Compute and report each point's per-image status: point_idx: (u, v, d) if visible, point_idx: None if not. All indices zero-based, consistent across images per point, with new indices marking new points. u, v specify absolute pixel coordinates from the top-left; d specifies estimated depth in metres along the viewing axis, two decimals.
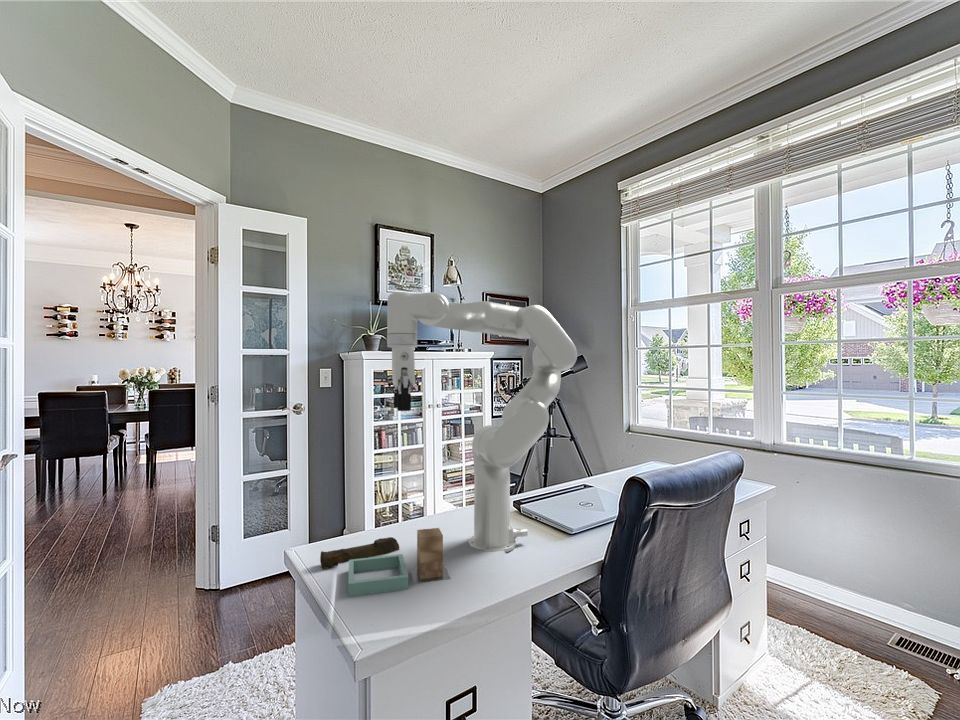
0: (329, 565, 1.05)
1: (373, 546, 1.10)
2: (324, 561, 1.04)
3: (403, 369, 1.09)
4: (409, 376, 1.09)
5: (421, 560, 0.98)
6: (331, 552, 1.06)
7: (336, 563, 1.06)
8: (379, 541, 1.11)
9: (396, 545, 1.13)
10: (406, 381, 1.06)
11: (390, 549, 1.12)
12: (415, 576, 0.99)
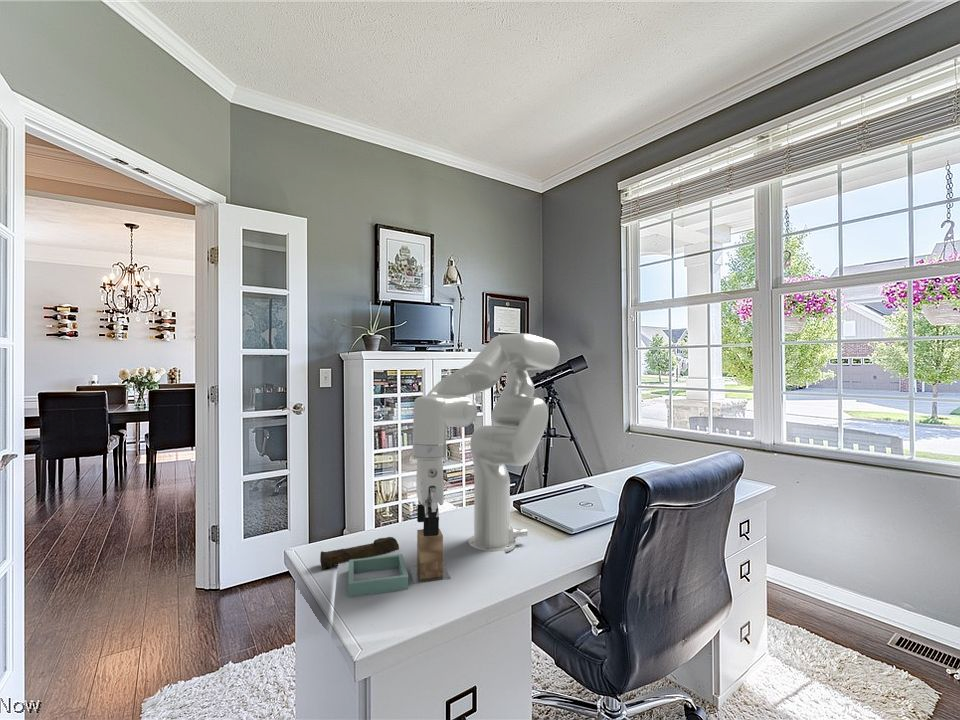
0: (329, 565, 1.05)
1: (373, 546, 1.10)
2: (324, 561, 1.04)
3: (431, 488, 0.96)
4: (437, 496, 0.96)
5: (421, 560, 0.98)
6: (331, 552, 1.06)
7: (336, 563, 1.06)
8: (379, 541, 1.11)
9: (396, 545, 1.14)
10: (435, 505, 0.93)
11: (390, 549, 1.12)
12: (415, 576, 0.99)
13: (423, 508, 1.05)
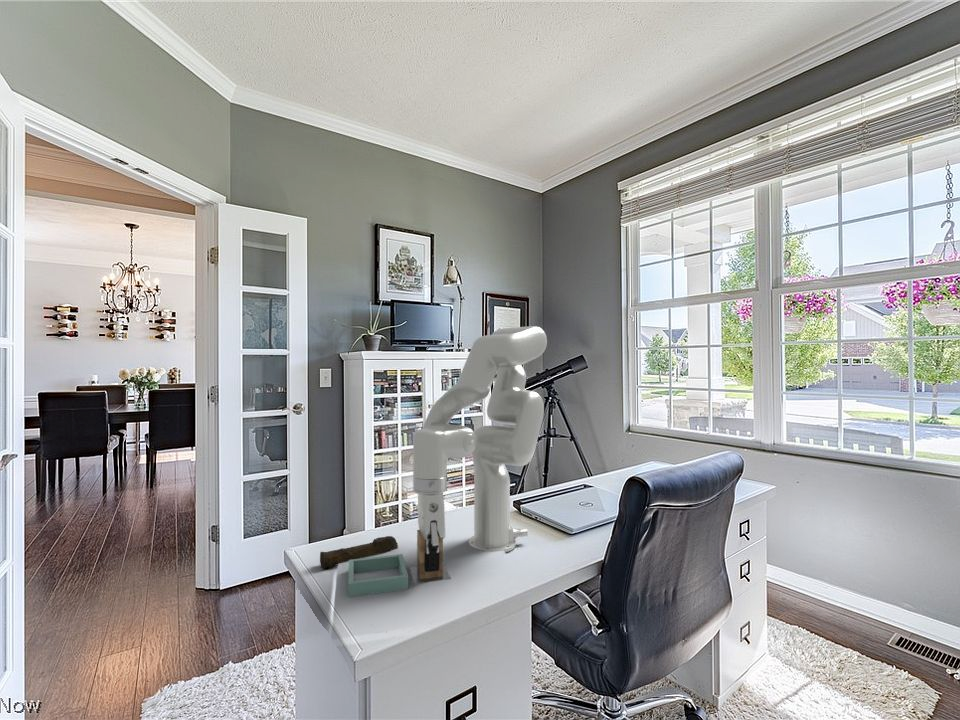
0: (329, 565, 1.05)
1: (372, 545, 1.11)
2: (325, 561, 1.04)
3: (432, 526, 0.96)
4: (439, 530, 0.96)
5: (421, 560, 0.98)
6: (331, 552, 1.06)
7: (336, 563, 1.06)
8: (378, 540, 1.12)
9: (395, 544, 1.14)
10: (435, 546, 0.95)
11: (389, 548, 1.13)
12: (415, 576, 0.99)
13: None
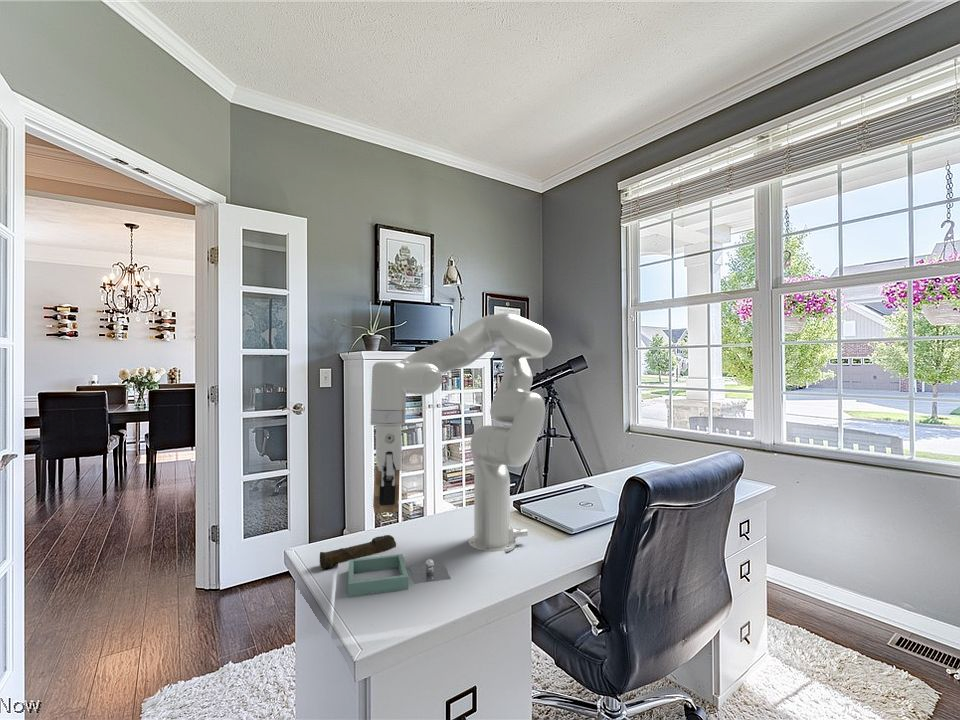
0: (330, 565, 1.05)
1: (372, 544, 1.11)
2: (325, 561, 1.04)
3: (388, 457, 0.94)
4: (395, 461, 0.94)
5: (376, 493, 0.95)
6: (331, 552, 1.06)
7: (336, 562, 1.06)
8: (377, 539, 1.13)
9: (393, 542, 1.15)
10: (390, 477, 0.92)
11: (388, 547, 1.14)
12: (415, 576, 0.99)
13: None
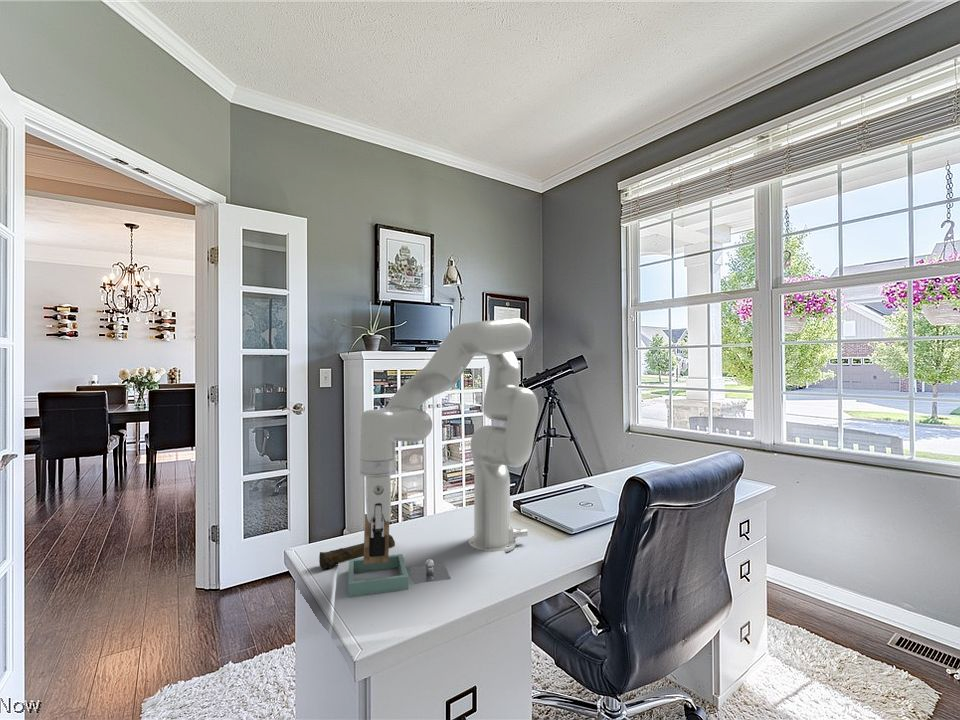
0: (330, 565, 1.05)
1: None
2: (326, 561, 1.04)
3: (377, 509, 0.93)
4: (384, 513, 0.93)
5: (365, 544, 0.95)
6: (331, 552, 1.06)
7: (336, 562, 1.06)
8: None
9: (392, 541, 1.16)
10: (379, 530, 0.91)
11: None
12: (415, 576, 0.99)
13: None
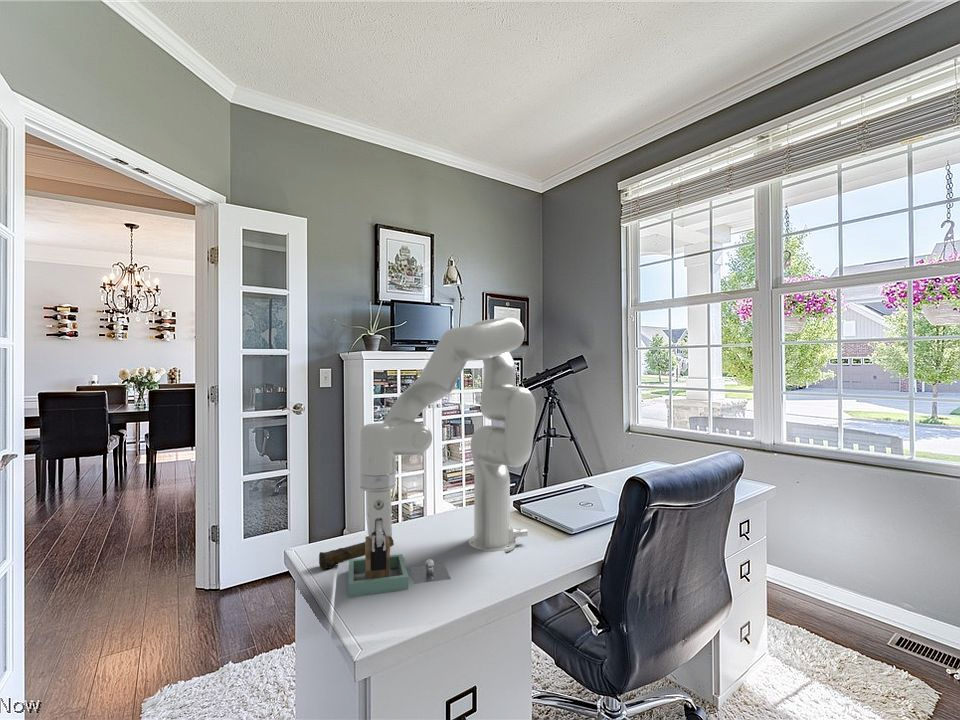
0: (330, 565, 1.05)
1: None
2: (326, 561, 1.04)
3: (377, 521, 0.93)
4: (384, 528, 0.93)
5: (367, 568, 0.95)
6: (331, 552, 1.06)
7: (337, 562, 1.06)
8: None
9: (391, 541, 1.16)
10: (380, 541, 0.90)
11: None
12: (415, 576, 0.99)
13: None
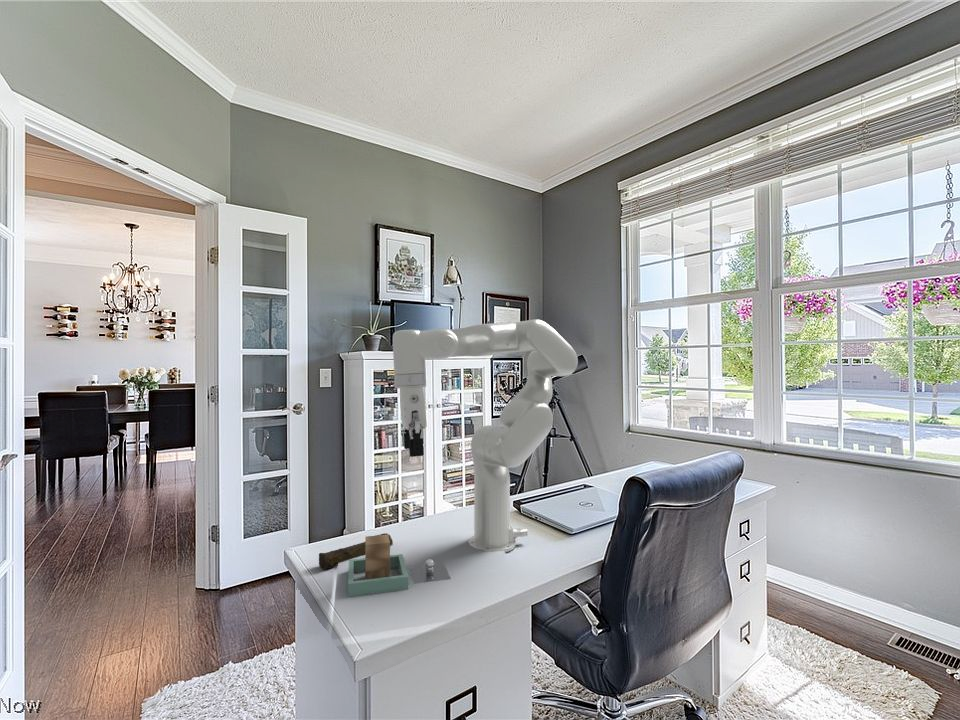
0: (330, 565, 1.05)
1: None
2: (326, 562, 1.04)
3: (414, 412, 1.03)
4: (420, 419, 1.04)
5: (367, 568, 0.95)
6: (331, 553, 1.06)
7: (337, 563, 1.06)
8: None
9: (390, 540, 1.16)
10: (418, 426, 1.00)
11: None
12: (415, 576, 0.99)
13: (409, 436, 1.12)
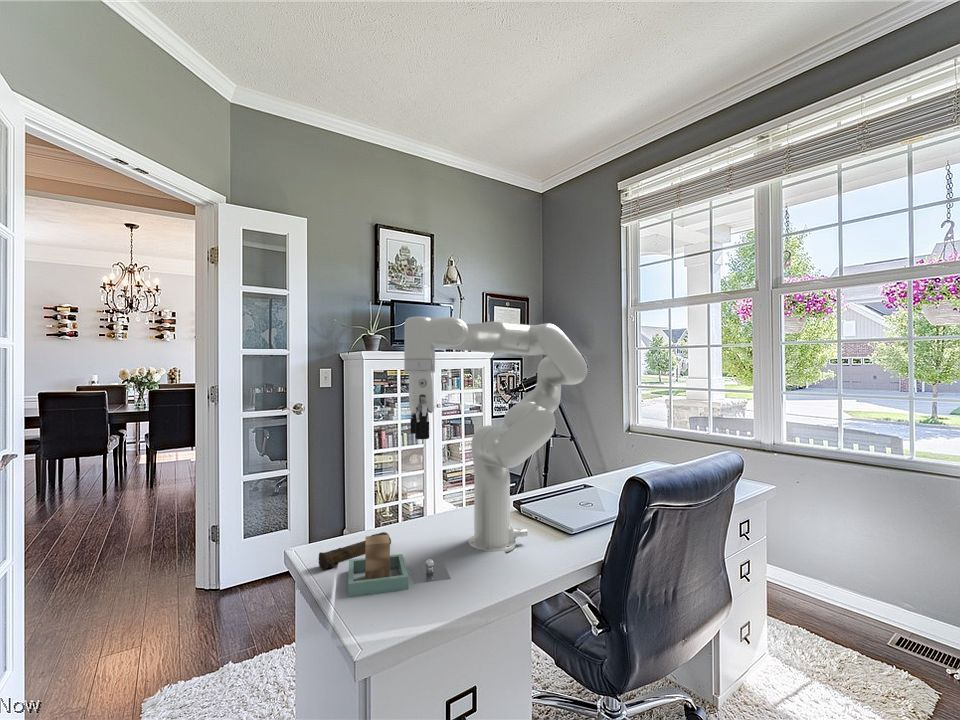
0: (331, 565, 1.05)
1: None
2: (327, 561, 1.04)
3: (421, 396, 1.06)
4: (427, 403, 1.06)
5: (367, 568, 0.95)
6: (331, 552, 1.06)
7: (337, 562, 1.06)
8: None
9: (389, 539, 1.17)
10: (425, 409, 1.03)
11: None
12: (415, 576, 0.99)
13: (416, 421, 1.15)
